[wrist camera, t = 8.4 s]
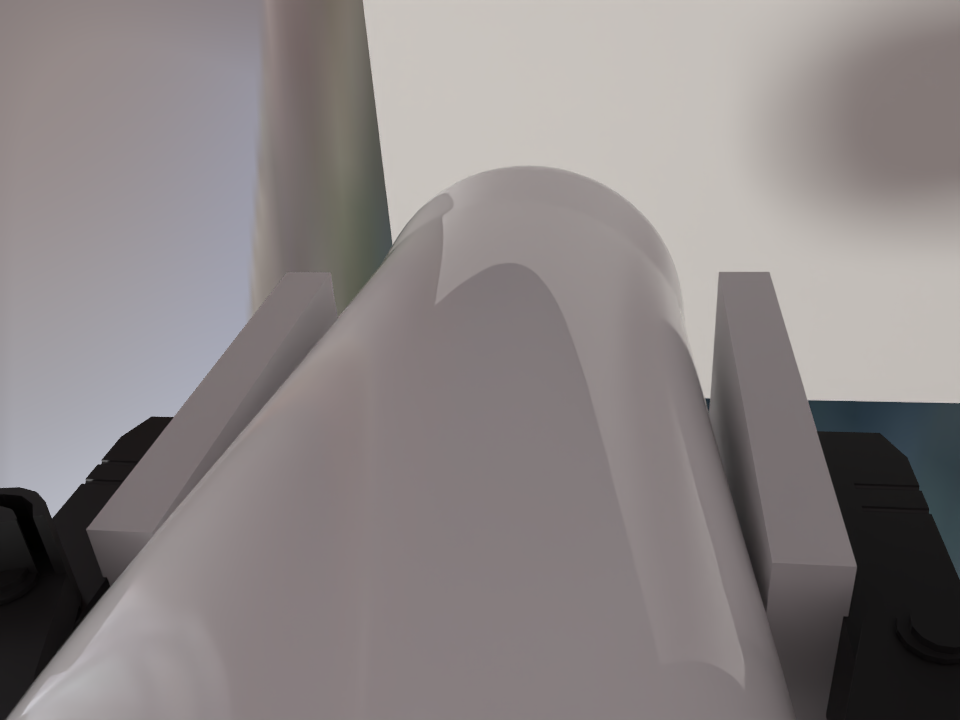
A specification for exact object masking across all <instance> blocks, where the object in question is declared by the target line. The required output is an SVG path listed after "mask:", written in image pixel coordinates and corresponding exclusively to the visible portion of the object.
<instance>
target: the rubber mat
mask: <svg viewBox="0 0 960 720" xmlns="http://www.w3.org/2000/svg"><path fill="white" fill-rule="evenodd" d="M363 5H364V13H365V21H366V30H367V38H368V46H369V54H370V62H371V70H372V79H373V87H374V95H375V103H376V111H377V120H378V128H379V136H380V144H381V152H382V160H383V169H384V177H385V185H386V193H387V201H388V209H389V218H390V226H391V234H392V242H393V244H394V242H395V240H396V239H397V237H398V235H399V234H400V232H401V231H402V230H403V228H404V227H405V225H406V224H407V222H408V221H409V220H410V219H411V218H412V217H413V216H414V214H415V213H416V212H417V211H418V210H419V209H420V208H421V207H422V206H423V205H424V204H425V203H426V202H428V201H429V200H430V199H431V198H433V197H434V196H435V195H437V194H438V193H439V192H441V191H442V190H444V189H445V188H447V187H449V186H450V185H452V184H454V183H456V182H458V181H460V180H462V179H464V178H467V177H469V176H472V175H475V174H478V173H481V172H484V171H488V170H492V169H496V168H502V167H509V166H524V165H532V166H546V167H553V168H559V169H564V170H567V171H571V172H575V173H578V174H581V175H584V176H586V177H589V178H591V179H594V180H596V181H598V182H600V183H602V184H604V185H606V186H607V187H609V188H611V189H612V190H614V191H616V192H617V193H619V194H620V195H621V196H623V197H624V198H626V199H627V200H628V201H630V202H631V203H632V204H633V205H634V206H635V207H636V208H637V209H638V210H640V211H641V212H642V213H643V215H644V216H645V217H646V218H647V219H648V220H649V221H650V222H651V223H652V225H653V226H654V228H655V229H656V230H657V232H658V233H659V234H660V236H661V238H662V239H663V241H664V243H665V245H666V246H667V248H668V250H669V252H670V254H671V257H672V259H673V261H674V264H675V267H676V270H677V273H678V276H679V280H680V285H681V290H682V295H683V303H684V313H685V323H686V330H687V334H688V338H689V342H690V346H691V349H692V353H693V357H694V361H695V364H696V368H697V372H698V375H699V379H700V383H701V386H702V390H703V394H704V397H705V398H710V395H711V380H712V365H713V351H714V336H715V321H716V306H717V292H718V277H719V272H770V276H771V279H772V282H773V286H774V289H775V292H776V296H777V299H778V303H779V306H780V309H781V313H782V316H783V319H784V323H785V326H786V329H787V333H788V336H789V339H790V343H791V346H792V350H793V353H794V356H795V360H796V363H797V366H798V370H799V373H800V376H801V380H802V383H803V386H804V390H805V393H806V397H807V400H832V401H883V402H935V403H960V0H363Z"/></svg>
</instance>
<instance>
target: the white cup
mask: <svg viewBox="0 0 960 720" xmlns="http://www.w3.org/2000/svg"><path fill="white" fill-rule="evenodd" d="M5 720H797V718H796V714H795V711H794V707H793V703H792V700H791V696H790V693H789V689H788V686H787V682H786V679H785V675H784V672H783V668H782V665H781V662H780V658H779V655H778V651H777V648H776V644H775V641H774V637H773V634H772V631H771V627H770V624H769V620H768V617H767V613H766V610H765V606H764V603H763V599H762V596H761V593H760V589H759V586H758V582H757V579H756V575H755V572H754V569H753V565H752V562H751V558H750V555H749V551H748V548H747V545H746V541H745V538H744V534H743V531H742V527H741V524H740V521H739V517H738V514H737V510H736V507H735V503H734V500H733V496H732V493H731V489H730V486H729V482H728V479H727V475H726V472H725V468H724V465H723V461H722V458H721V454H720V451H719V447H718V444H717V440H716V437H715V433H714V429H713V426H712V422H711V419H710V415H709V411H708V408H707V404H706V401H705V397H704V394H703V390H702V386H701V383H700V379H699V375H698V372H697V368H696V364H695V361H694V357H693V353H692V349H691V346H690V342H689V338H688V334H687V330H686V323H685V313H684V303H683V295H682V290H681V285H680V280H679V276H678V273H677V270H676V267H675V264H674V261H673V259H672V257H671V254H670V252H669V250H668V248H667V246H666V245H665V243H664V241H663V239H662V238H661V236H660V234H659V233H658V232H657V230H656V229H655V228H654V226H653V225H652V223H651V222H650V221H649V220H648V219H647V218H646V217H645V216H644V215H643V213H642V212H641V211H640V210H638V209H637V208H636V207H635V206H634V205H633V204H632V203H631V202H630V201H628V200H627V199H626V198H624V197H623V196H621V195H620V194H619V193H617V192H616V191H614V190H612V189H611V188H609V187H607V186H606V185H604V184H602V183H600V182H598V181H596V180H594V179H591V178H589V177H586V176H584V175H581V174H578V173H575V172H571V171H567V170H564V169H559V168H553V167H546V166H532V165H524V166H509V167H502V168H496V169H492V170H488V171H484V172H481V173H478V174H475V175H472V176H469V177H467V178H464V179H462V180H460V181H458V182H456V183H454V184H452V185H450V186H449V187H447V188H445V189H444V190H442V191H441V192H439V193H438V194H437V195H435V196H434V197H433V198H431V199H430V200H429V201H428V202H426V203H425V204H424V205H423V206H422V207H421V208H420V209H419V210H418V211H417V212H416V213H415V214H414V216H413V217H412V218H411V219H410V220H409V221H408V222H407V224H406V225H405V227H404V228H403V230H402V231H401V232H400V234H399V235H398V237H397V239H396V240H395V242H394V244H393V245H392V247H391V249H390V250H389V252H388V254H387V256H386V257H385V259H384V261H383V262H382V264H381V265H380V266H379V268H378V269H377V270H376V271H375V273H374V274H373V275H372V276H371V278H370V279H369V280H368V281H367V283H366V284H365V285H364V286H363V287H362V289H361V290H360V291H359V292H358V294H357V295H356V296H355V297H354V298H353V300H352V301H351V302H350V303H349V304H348V306H347V307H346V308H345V309H344V311H343V312H342V313H341V314H340V315H339V316H338V318H337V319H336V320H335V321H334V322H333V324H332V325H331V326H330V327H329V328H328V330H327V331H326V332H325V333H324V334H323V336H322V337H321V338H320V339H319V340H318V342H317V343H316V344H315V345H314V346H313V348H312V349H311V350H310V351H309V352H308V354H307V355H306V356H305V357H304V358H303V359H302V361H301V362H300V363H299V364H298V365H297V367H296V368H295V369H294V370H293V371H292V373H291V374H290V375H289V376H288V377H287V378H286V380H285V381H284V382H283V383H282V384H281V386H280V387H279V388H278V389H277V390H276V391H275V393H274V394H273V395H272V396H271V397H270V399H269V400H268V401H267V402H266V403H265V404H264V406H263V407H262V408H261V409H260V410H259V411H258V413H257V414H256V415H255V416H254V417H253V419H252V420H251V421H250V422H249V423H248V424H247V426H246V427H245V428H244V429H243V430H242V431H241V433H240V434H239V435H238V436H237V437H236V438H235V440H234V441H233V442H232V443H231V444H230V445H229V447H228V448H227V449H226V450H225V451H224V452H223V454H222V455H221V456H220V457H219V458H218V459H217V461H216V462H215V463H214V464H213V465H212V467H211V468H210V469H209V470H208V471H207V472H206V474H205V475H204V476H203V477H202V478H201V479H200V481H199V482H198V483H197V484H196V485H195V486H194V488H193V489H192V490H191V491H190V492H189V493H188V495H187V496H186V497H185V498H184V499H183V501H182V502H181V503H180V504H179V505H178V506H177V508H176V509H175V510H174V511H173V512H172V513H171V515H170V516H169V517H168V518H167V519H166V520H165V522H164V523H163V524H162V525H161V526H160V528H159V529H158V530H157V531H156V532H155V533H154V535H153V536H152V537H151V538H150V539H149V540H148V542H147V543H146V544H145V545H144V546H143V547H142V549H141V550H140V551H139V552H138V553H137V555H136V556H135V557H134V558H133V559H132V561H131V562H130V563H129V564H128V566H127V567H126V568H125V569H124V570H123V572H122V573H121V574H120V575H119V576H118V578H117V579H116V580H115V581H114V582H113V584H112V585H111V586H110V587H109V588H108V590H107V591H106V592H105V593H104V594H103V596H102V597H101V598H100V599H99V600H98V602H97V603H96V604H95V605H94V606H93V608H92V609H91V610H90V611H89V612H88V614H87V615H86V616H85V617H84V619H83V620H82V621H81V622H80V624H79V625H78V626H77V627H76V629H75V630H74V631H73V632H72V634H71V635H70V636H69V638H68V639H67V640H66V641H65V643H64V644H63V645H62V646H61V648H60V649H59V650H58V651H57V653H56V654H55V655H54V656H53V658H52V659H51V660H50V661H49V663H48V664H47V665H46V666H45V668H44V669H43V670H42V672H41V673H40V674H39V675H38V677H37V678H36V679H35V681H34V682H33V683H32V685H31V686H30V687H29V689H28V690H27V691H26V693H25V694H24V695H23V697H22V698H21V699H20V700H19V702H18V703H17V704H16V706H15V707H14V708H13V710H12V711H11V712H10V714H9V715H8V716H7V718H6V719H5Z"/></svg>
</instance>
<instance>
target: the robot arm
mask: <svg viewBox="0 0 960 720" xmlns="http://www.w3.org/2000/svg"><path fill="white" fill-rule="evenodd" d="M337 318H338V316H337V310H336V304H335V298H334V292H333V285H332V279H331V273H330V272H287V273H286V274H285V276H284V277H283V278H282V279H281V281H280V282H279V283H278V284H277V286H276V287H275V288H274V290H273V291H272V292H271V293H270V295H269V296H268V297H267V299H266V300H265V301H264V302H263V304H262V305H261V306H260V308H259V309H258V310H257V311H256V313H255V314H254V315H253V316H252V318H251V319H250V320H249V322H248V323H247V324H246V325H245V327H244V328H243V329H242V331H241V332H240V333H239V334H238V336H237V337H236V338H235V340H234V341H233V342H232V343H231V345H230V346H229V347H228V349H227V350H226V351H225V352H224V354H223V355H222V356H221V358H220V359H219V360H218V361H217V363H216V364H215V365H214V366H213V368H212V369H211V371H210V372H209V373H208V374H207V376H206V377H205V378H204V380H203V381H202V382H201V383H200V384H199V386H198V387H197V388H196V390H195V391H194V392H193V393H192V395H191V396H190V397H189V398H188V400H187V401H186V402H185V404H184V405H183V406H182V408H181V409H180V410H179V411H178V413H177V414H176V415H175V416H174V417H150V418H149V419H147V420H146V421H144V422H143V423H141V424H140V425H138V426H137V427H135V428H134V429H132V430H131V431H129V432H128V433H126V434H125V435H123V436H122V437H121V438H120V439H119V440H118V441H117V442H116V443H115V445H114V446H113V447H112V448H111V449H110V451H109V452H108V453H107V454H106V455H105V457H104V458H103V459H102V464H101V465H97V466H96V467H95V469H94V470H93V471H92V472H91V473H90V474H89V476H88V477H87V478H86V483H85V484H81V485H80V486H79V487H78V489H77V490H76V491H75V492H74V493H73V495H72V496H71V497H70V498H69V499H68V500H67V502H66V503H65V504H64V505H63V506H62V508H61V509H60V510H59V511H58V513H57V514H56V515H55V516H54V517H53V518H51V515H50V513H49V510H48V507H47V505H46V502H45V501H44V500H43V499H42V497H41V496H40V495H39V494H38V493H37V492H35V491H31V490H27V489H24V488H20V487H18V488H0V720H5V719H6V718H7V716H8V715H9V714H10V712H11V711H12V710H13V708H14V707H15V706H16V704H17V703H18V702H19V700H20V699H21V698H22V697H23V695H24V694H25V693H26V691H27V690H28V689H29V687H30V686H31V685H32V683H33V682H34V681H35V679H36V678H37V677H38V675H39V674H40V673H41V672H42V670H43V669H44V668H45V666H46V665H47V664H48V663H49V661H50V660H51V659H52V658H53V656H54V655H55V654H56V653H57V651H58V650H59V649H60V648H61V646H62V645H63V644H64V643H65V641H66V640H67V639H68V638H69V636H70V635H71V634H72V632H73V631H74V630H75V629H76V627H77V626H78V625H79V624H80V622H81V621H82V620H83V619H84V617H85V616H86V615H87V614H88V612H89V611H90V610H91V609H92V608H93V606H94V605H95V604H96V603H97V602H98V600H99V599H100V598H101V597H102V596H103V594H104V593H105V592H106V591H107V590H108V588H109V587H110V586H111V585H112V584H113V582H114V581H115V580H116V579H117V578H118V576H119V575H120V574H121V573H122V572H123V570H124V569H125V568H126V567H127V566H128V564H129V563H130V562H131V561H132V559H133V558H134V557H135V556H136V555H137V553H138V552H139V551H140V550H141V549H142V547H143V546H144V545H145V544H146V543H147V542H148V540H149V539H150V538H151V537H152V536H153V535H154V533H155V532H156V531H157V530H158V529H159V528H160V526H161V525H162V524H163V523H164V522H165V520H166V519H167V518H168V517H169V516H170V515H171V513H172V512H173V511H174V510H175V509H176V508H177V506H178V505H179V504H180V503H181V502H182V501H183V499H184V498H185V497H186V496H187V495H188V493H189V492H190V491H191V490H192V489H193V488H194V486H195V485H196V484H197V483H198V482H199V481H200V479H201V478H202V477H203V476H204V475H205V474H206V472H207V471H208V470H209V469H210V468H211V467H212V465H213V464H214V463H215V462H216V461H217V459H218V458H219V457H220V456H221V455H222V454H223V452H224V451H225V450H226V449H227V448H228V447H229V445H230V444H231V443H232V442H233V441H234V440H235V438H236V437H237V436H238V435H239V434H240V433H241V431H242V430H243V429H244V428H245V427H246V426H247V424H248V423H249V422H250V421H251V420H252V419H253V417H254V416H255V415H256V414H257V413H258V411H259V410H260V409H261V408H262V407H263V406H264V404H265V403H266V402H267V401H268V400H269V399H270V397H271V396H272V395H273V394H274V393H275V391H276V390H277V389H278V388H279V387H280V386H281V384H282V383H283V382H284V381H285V380H286V378H287V377H288V376H289V375H290V374H291V373H292V371H293V370H294V369H295V368H296V367H297V365H298V364H299V363H300V362H301V361H302V359H303V358H304V357H305V356H306V355H307V354H308V352H309V351H310V350H311V349H312V348H313V346H314V345H315V344H316V343H317V342H318V340H319V339H320V338H321V337H322V336H323V334H324V333H325V332H326V331H327V330H328V328H329V327H330V326H331V325H332V324H333V322H334V321H335V320H336V319H337ZM709 415H710V419H711V422H712V426H713V429H714V433H715V437H716V440H717V444H718V447H719V451H720V454H721V458H722V461H723V465H724V468H725V472H726V475H727V479H728V482H729V486H730V489H731V493H732V496H733V500H734V503H735V507H736V510H737V514H738V517H739V521H740V524H741V527H742V531H743V534H744V538H745V541H746V545H747V548H748V551H749V555H750V558H751V562H752V565H753V569H754V572H755V575H756V579H757V582H758V586H759V589H760V593H761V596H762V599H763V603H764V606H765V610H766V613H767V617H768V620H769V624H770V627H771V631H772V634H773V637H774V641H775V644H776V648H777V651H778V655H779V658H780V662H781V665H782V668H783V672H784V675H785V679H786V682H787V686H788V689H789V693H790V696H791V700H792V703H793V707H794V711H795V714H796V718H797V720H960V580H959V577H958V575H957V573H956V570H955V568H954V566H953V563H952V561H951V559H950V556H949V554H948V552H947V549H946V547H945V545H944V542H943V540H942V538H941V535H940V533H939V531H938V528H937V526H936V524H935V521H934V519H933V517H932V514H929V507H928V505H927V503H926V500H925V498H924V496H923V493H922V491H919V484H918V482H917V479H916V477H915V475H914V472H913V470H912V468H911V465H910V463H909V461H908V458H907V457H906V456H905V455H904V454H903V453H901V452H900V451H899V450H898V449H897V448H896V447H895V446H894V445H892V444H891V443H890V442H889V441H888V440H887V439H886V438H885V437H883V436H882V435H881V434H880V433H857V432H819V431H817V430H816V427H815V423H814V420H813V417H812V413H811V410H810V407H809V403H808V400H807V397H806V393H805V390H804V386H803V383H802V380H801V376H800V373H799V370H798V366H797V363H796V360H795V356H794V353H793V350H792V346H791V343H790V339H789V336H788V333H787V329H786V326H785V323H784V319H783V316H782V313H781V309H780V306H779V303H778V299H777V296H776V292H775V289H774V286H773V282H772V279H771V276H770V272H719V277H718V292H717V306H716V321H715V336H714V351H713V365H712V380H711V395H710V410H709Z"/></svg>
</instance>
